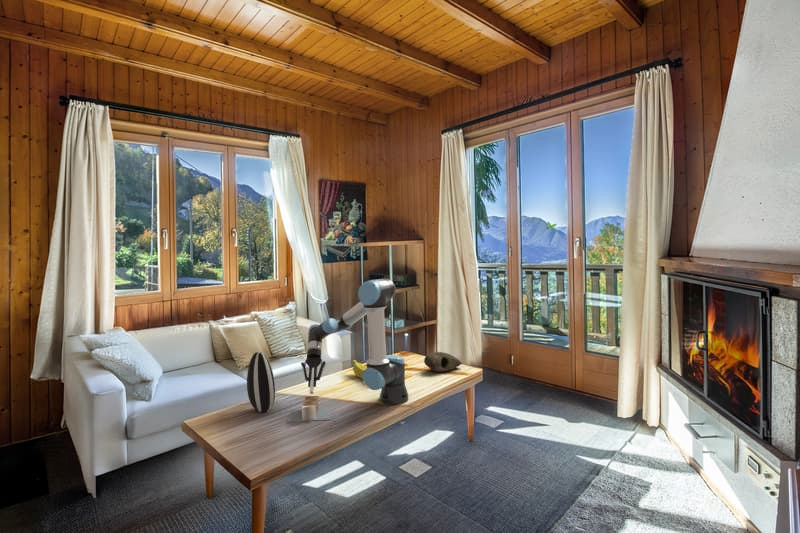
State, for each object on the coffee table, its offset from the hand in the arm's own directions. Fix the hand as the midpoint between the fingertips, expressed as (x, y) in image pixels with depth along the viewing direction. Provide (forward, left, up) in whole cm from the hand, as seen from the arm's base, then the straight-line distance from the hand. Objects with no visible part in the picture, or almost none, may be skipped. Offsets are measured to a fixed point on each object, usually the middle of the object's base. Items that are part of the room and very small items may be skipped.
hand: (311, 392), depth 207 cm
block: (0, -1, -5) cm, 5 cm away
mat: (0, +7, -9) cm, 11 cm away
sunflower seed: (+25, -1, -9) cm, 27 cm away
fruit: (-27, -43, -9) cm, 52 cm away
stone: (-76, -54, -9) cm, 94 cm away
